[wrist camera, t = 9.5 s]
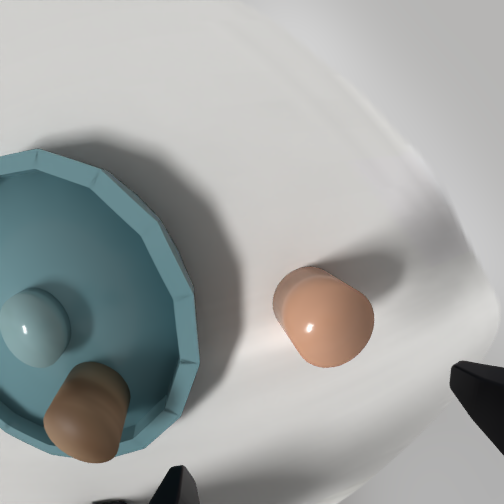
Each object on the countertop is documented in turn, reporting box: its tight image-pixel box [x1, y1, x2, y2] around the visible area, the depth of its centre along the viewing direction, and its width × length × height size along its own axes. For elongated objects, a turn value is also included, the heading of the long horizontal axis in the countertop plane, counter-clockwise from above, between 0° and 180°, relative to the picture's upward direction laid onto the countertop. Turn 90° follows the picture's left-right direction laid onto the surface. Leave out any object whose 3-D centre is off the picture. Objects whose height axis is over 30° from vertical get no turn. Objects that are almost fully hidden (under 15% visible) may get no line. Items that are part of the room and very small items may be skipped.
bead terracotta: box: [273, 267, 374, 368], centre depth 17 cm, size 4×4×4 cm
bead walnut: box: [43, 362, 131, 463], centre depth 15 cm, size 4×4×4 cm
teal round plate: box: [0, 149, 200, 458], centre depth 15 cm, size 19×19×2 cm
